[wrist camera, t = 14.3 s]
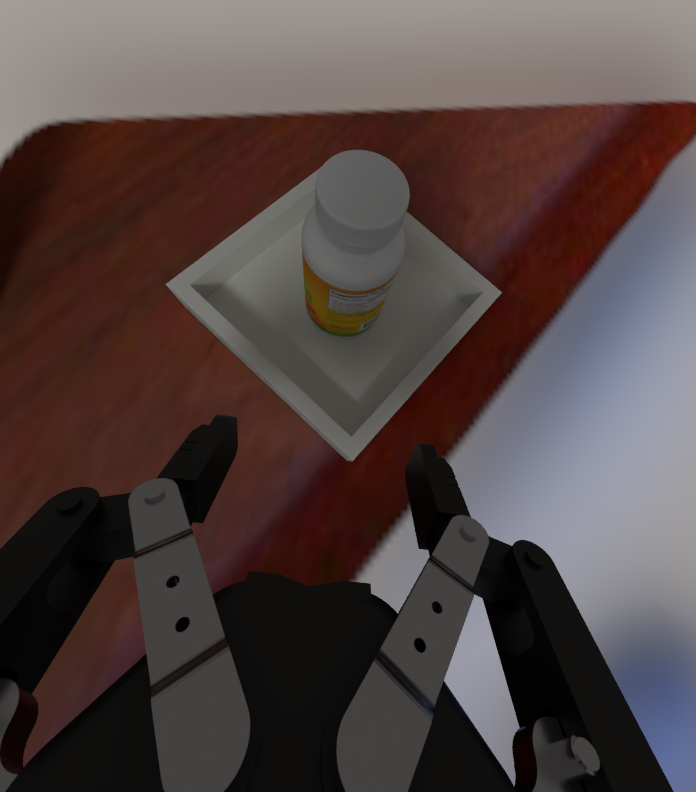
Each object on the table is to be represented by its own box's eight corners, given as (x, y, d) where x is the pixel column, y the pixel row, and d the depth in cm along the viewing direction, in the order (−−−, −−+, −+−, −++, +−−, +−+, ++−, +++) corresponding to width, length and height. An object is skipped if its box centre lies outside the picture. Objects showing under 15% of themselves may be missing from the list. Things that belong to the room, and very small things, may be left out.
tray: (186, 308, 21) (165, 284, 18) (336, 189, 25) (338, 153, 22) (347, 460, 20) (352, 461, 17) (478, 313, 24) (502, 292, 21)
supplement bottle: (306, 271, 22) (299, 127, 12) (377, 276, 22) (423, 142, 13) (304, 339, 21) (294, 237, 11) (379, 342, 21) (430, 248, 12)
